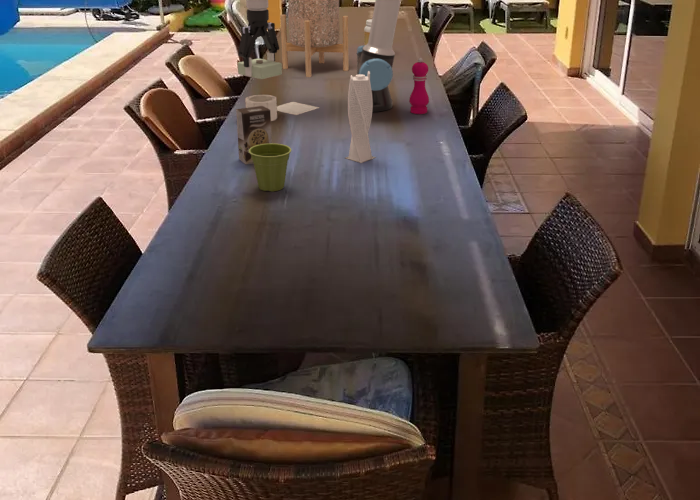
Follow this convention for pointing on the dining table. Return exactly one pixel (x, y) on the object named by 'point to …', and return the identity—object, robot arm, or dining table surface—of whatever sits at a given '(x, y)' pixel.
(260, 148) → the plant pot
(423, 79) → the pepper mill
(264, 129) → the coffee box
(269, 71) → the lid
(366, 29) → the supplement tub
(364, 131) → the skyscraper
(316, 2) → the planter
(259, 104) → the bowl
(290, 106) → the mat
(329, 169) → the dining table surface
